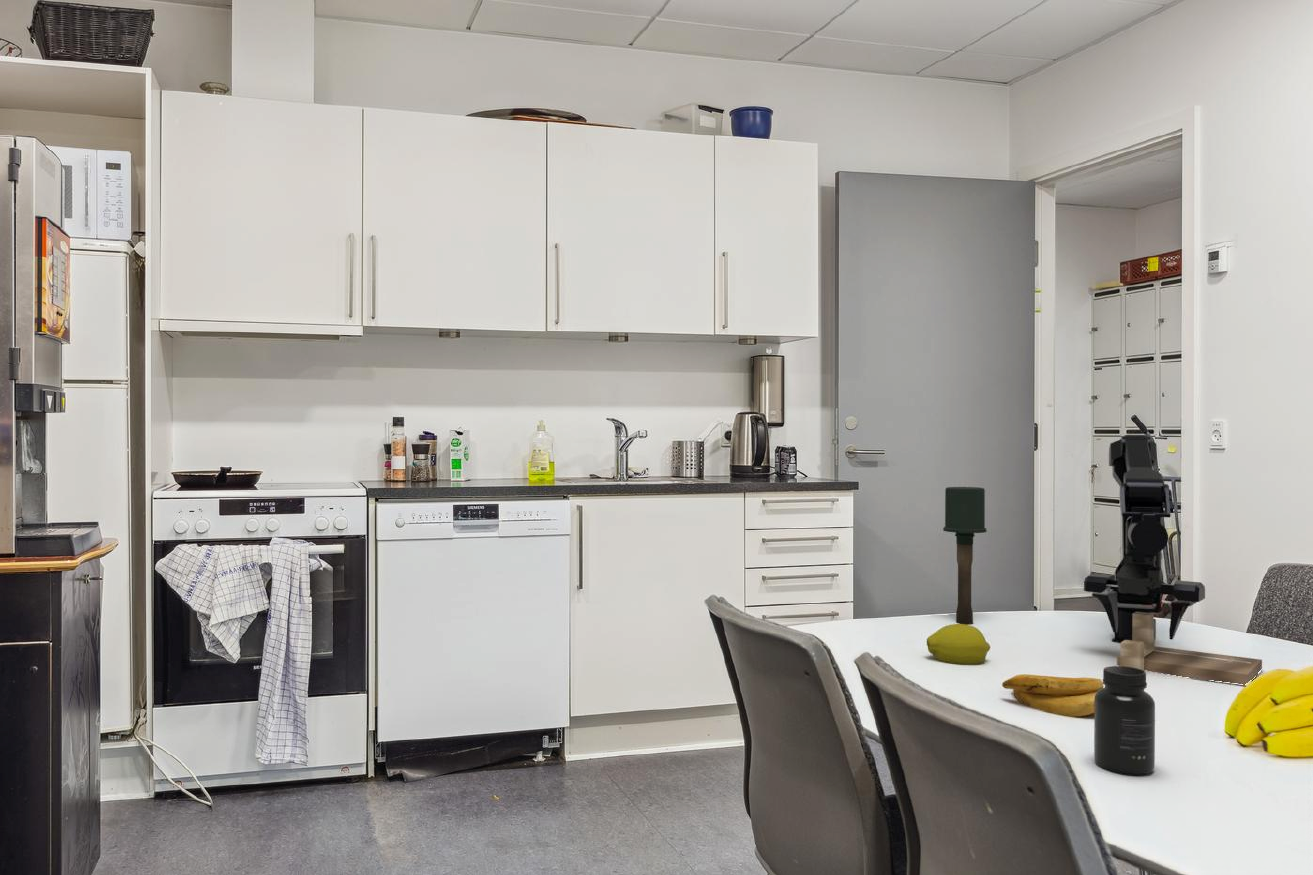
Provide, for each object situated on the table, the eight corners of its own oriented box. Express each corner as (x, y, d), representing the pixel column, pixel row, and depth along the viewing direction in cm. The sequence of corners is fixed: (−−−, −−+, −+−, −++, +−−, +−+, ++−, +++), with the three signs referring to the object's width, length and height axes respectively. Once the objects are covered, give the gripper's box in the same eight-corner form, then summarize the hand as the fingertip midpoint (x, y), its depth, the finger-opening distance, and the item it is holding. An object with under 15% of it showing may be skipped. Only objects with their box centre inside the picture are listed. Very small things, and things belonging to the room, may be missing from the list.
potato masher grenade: (986, 630, 210) (986, 487, 210) (985, 638, 202) (986, 489, 201) (944, 627, 212) (944, 486, 212) (941, 635, 204) (942, 488, 204)
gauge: (1120, 671, 172) (1120, 619, 172) (1140, 658, 183) (1141, 608, 183) (1139, 674, 170) (1139, 621, 170) (1158, 660, 181) (1159, 610, 181)
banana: (1152, 725, 142) (1152, 685, 142) (1014, 721, 144) (1015, 681, 144) (1113, 697, 158) (1113, 660, 158) (989, 694, 159) (989, 658, 159)
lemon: (987, 666, 178) (987, 621, 178) (994, 676, 170) (994, 629, 170) (924, 663, 179) (924, 619, 179) (928, 674, 172) (928, 627, 172)
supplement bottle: (1083, 758, 127) (1083, 664, 127) (1135, 757, 128) (1135, 663, 128) (1112, 777, 120) (1113, 677, 120) (1166, 775, 121) (1167, 676, 121)
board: (1117, 668, 176) (1117, 656, 176) (1137, 654, 187) (1138, 643, 187) (1247, 686, 163) (1247, 673, 163) (1262, 671, 174) (1262, 659, 174)
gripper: (1074, 548, 178) (1074, 636, 178) (1191, 556, 166) (1191, 650, 166) (1093, 542, 186) (1093, 626, 186) (1206, 550, 174) (1205, 640, 174)
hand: (1143, 635), depth 178 cm, fingers open, 9 cm apart
